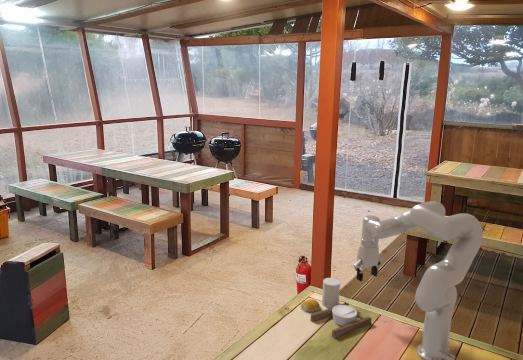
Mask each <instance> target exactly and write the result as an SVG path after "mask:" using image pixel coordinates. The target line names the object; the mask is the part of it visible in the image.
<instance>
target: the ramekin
mask: <svg viewBox="0 0 523 360" xmlns="http://www.w3.org/2000/svg"><path fill="white" fill-rule="evenodd" d="M332 313H333V315H332V318H333V321H334V323H335V324H336V325H338V326H340V327H342V326H345V325H347V324H350V323H353V322H355V321H356V319H357V313H358V311H357V309H355V308H354V307H352V306H351V305H349V306H347V305H341V304H339V305H337V306H334V307H333V308H332Z"/></svg>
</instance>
